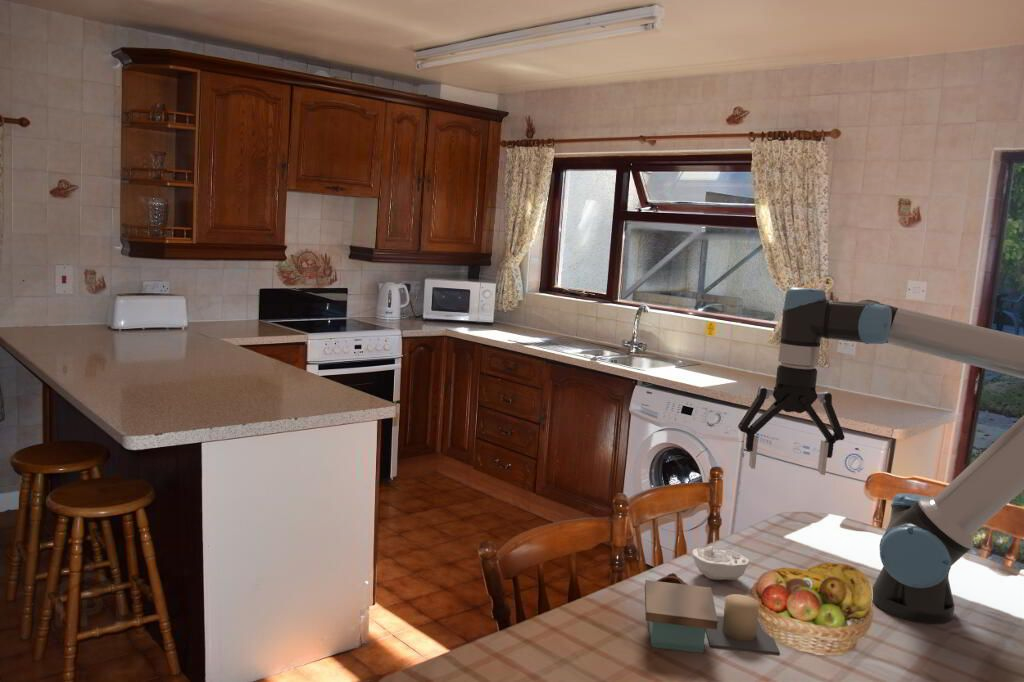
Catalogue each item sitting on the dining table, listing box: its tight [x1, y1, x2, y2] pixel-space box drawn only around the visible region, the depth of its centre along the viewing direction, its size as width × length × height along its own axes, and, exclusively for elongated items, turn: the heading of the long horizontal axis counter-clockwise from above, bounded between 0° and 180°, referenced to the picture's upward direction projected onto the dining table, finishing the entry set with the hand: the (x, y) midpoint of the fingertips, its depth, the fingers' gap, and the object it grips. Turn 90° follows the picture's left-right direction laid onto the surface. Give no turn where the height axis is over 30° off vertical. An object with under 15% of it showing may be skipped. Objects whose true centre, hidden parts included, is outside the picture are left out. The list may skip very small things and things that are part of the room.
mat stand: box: [705, 593, 781, 655], centre depth 148 cm, size 12×12×6 cm
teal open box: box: [647, 621, 706, 654], centre depth 146 cm, size 9×9×6 cm
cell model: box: [691, 545, 751, 581], centre depth 174 cm, size 10×12×7 cm
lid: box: [644, 579, 718, 630], centre depth 145 cm, size 12×12×2 cm
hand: (786, 470), depth 163 cm, fingers open, 13 cm apart
